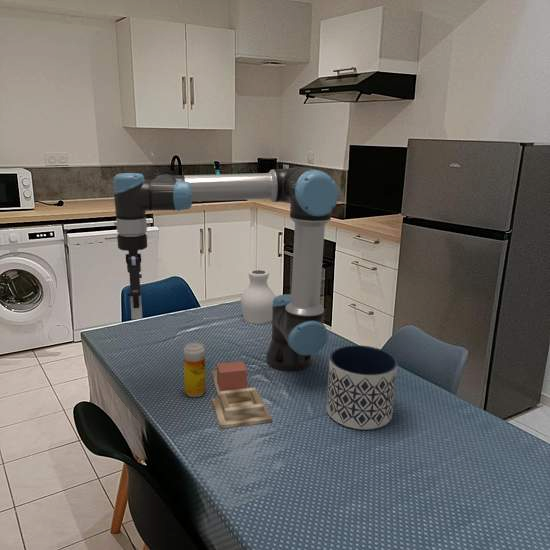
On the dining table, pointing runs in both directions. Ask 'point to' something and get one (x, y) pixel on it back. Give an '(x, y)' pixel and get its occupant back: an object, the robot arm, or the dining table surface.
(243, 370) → the salmon pink block
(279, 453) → the dining table surface
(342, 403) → the planter
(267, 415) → the dock
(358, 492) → the dining table surface
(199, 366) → the beer can
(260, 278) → the vase
